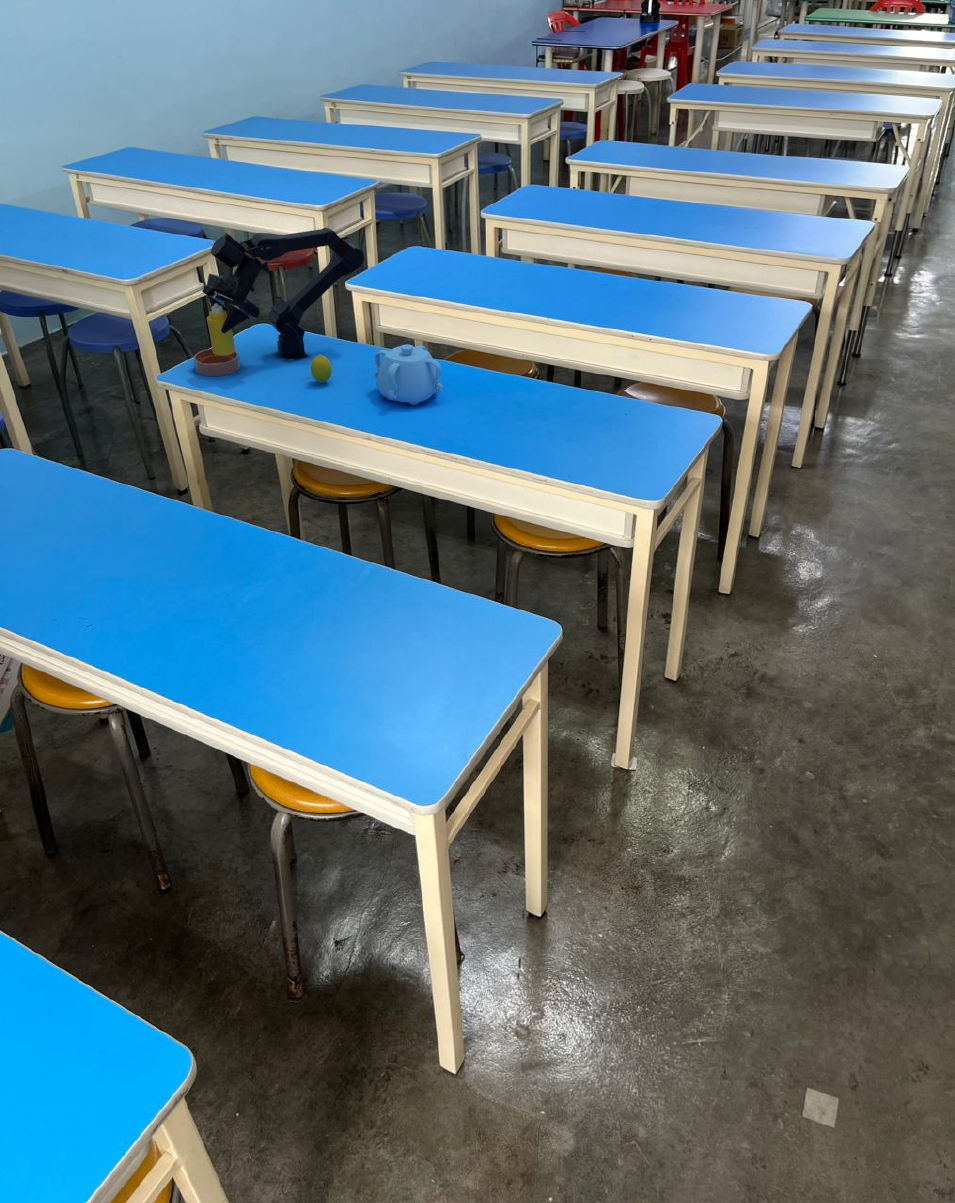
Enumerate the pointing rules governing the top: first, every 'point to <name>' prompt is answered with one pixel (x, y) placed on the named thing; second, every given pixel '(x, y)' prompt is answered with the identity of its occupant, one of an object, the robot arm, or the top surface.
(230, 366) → the bowl
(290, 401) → the top surface
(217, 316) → the mustard bottle
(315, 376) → the lemon
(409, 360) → the decorative pot
